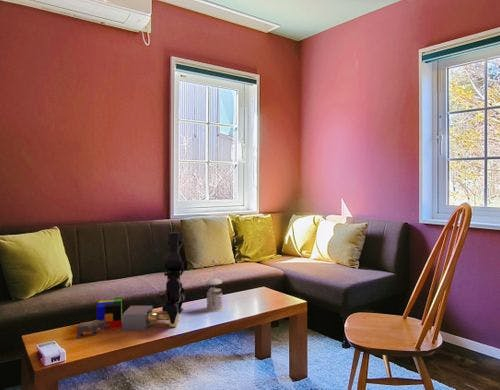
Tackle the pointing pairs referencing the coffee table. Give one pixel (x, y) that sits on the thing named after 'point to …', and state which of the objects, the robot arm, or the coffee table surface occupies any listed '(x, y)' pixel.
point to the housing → (136, 318)
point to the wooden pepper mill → (162, 318)
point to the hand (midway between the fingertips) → (174, 321)
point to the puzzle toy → (110, 312)
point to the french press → (214, 295)
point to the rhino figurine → (91, 327)
